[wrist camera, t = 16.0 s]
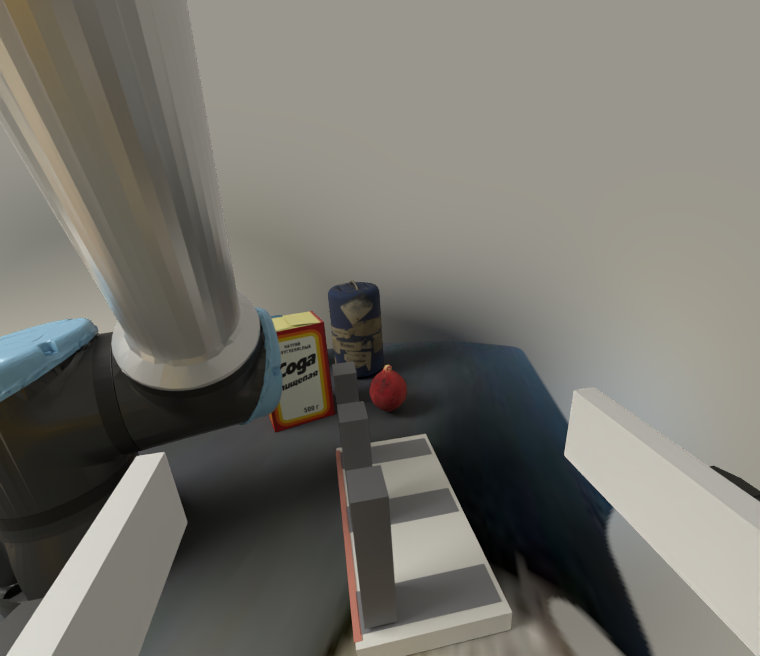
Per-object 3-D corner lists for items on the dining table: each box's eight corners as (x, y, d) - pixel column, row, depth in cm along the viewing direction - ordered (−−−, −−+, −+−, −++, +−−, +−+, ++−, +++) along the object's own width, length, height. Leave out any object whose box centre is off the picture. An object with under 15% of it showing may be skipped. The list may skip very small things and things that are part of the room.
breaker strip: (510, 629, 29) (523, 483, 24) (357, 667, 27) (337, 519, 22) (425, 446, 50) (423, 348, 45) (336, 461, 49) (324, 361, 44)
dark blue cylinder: (335, 383, 69) (324, 289, 63) (336, 362, 78) (327, 277, 72) (386, 378, 69) (380, 284, 63) (382, 357, 78) (376, 273, 72)
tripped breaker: (397, 621, 28) (388, 496, 24) (364, 628, 27) (350, 503, 23) (389, 582, 31) (380, 464, 26) (359, 589, 30) (345, 470, 26)
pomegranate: (398, 425, 55) (396, 377, 53) (364, 417, 58) (360, 371, 55) (412, 405, 60) (411, 360, 57) (381, 398, 63) (378, 355, 60)
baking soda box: (275, 432, 56) (256, 332, 50) (267, 411, 61) (250, 320, 56) (335, 414, 59) (323, 319, 54) (322, 396, 65) (311, 308, 59)
